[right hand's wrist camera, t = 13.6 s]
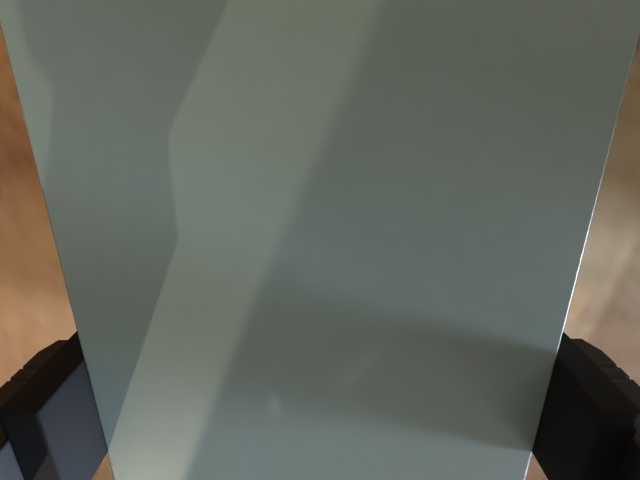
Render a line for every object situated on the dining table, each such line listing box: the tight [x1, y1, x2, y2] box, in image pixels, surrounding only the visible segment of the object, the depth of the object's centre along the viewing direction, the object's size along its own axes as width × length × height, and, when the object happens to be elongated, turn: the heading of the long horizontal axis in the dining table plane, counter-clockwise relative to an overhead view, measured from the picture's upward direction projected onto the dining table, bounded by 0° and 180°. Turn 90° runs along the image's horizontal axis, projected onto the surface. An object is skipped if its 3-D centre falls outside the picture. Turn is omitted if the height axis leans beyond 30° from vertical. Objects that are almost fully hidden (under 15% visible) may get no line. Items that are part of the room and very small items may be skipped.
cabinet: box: [0, 0, 640, 480], centre depth 11 cm, size 21×10×9 cm, turn 0°
